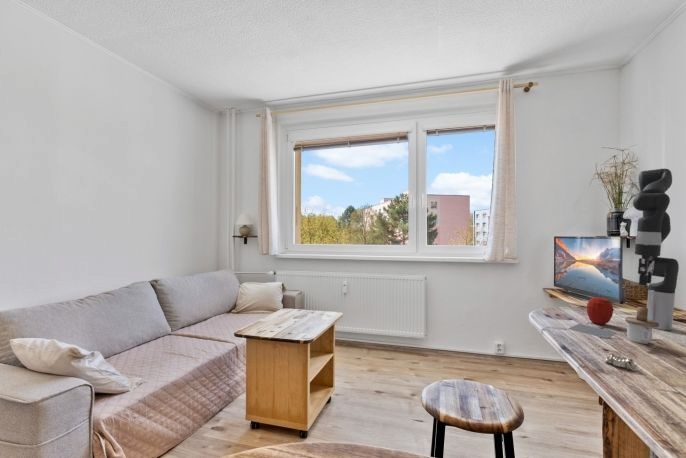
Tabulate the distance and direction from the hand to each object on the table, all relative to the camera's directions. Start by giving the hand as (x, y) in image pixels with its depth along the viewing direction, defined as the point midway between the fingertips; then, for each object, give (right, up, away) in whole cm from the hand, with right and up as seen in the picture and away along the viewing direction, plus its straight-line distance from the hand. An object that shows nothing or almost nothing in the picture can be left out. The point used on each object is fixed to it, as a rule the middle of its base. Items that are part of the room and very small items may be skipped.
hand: (645, 284), depth 133 cm
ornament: (-30, -23, -24) cm, 45 cm away
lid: (-1, -16, +1) cm, 16 cm away
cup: (-1, -24, +1) cm, 24 cm away
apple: (+1, -24, +26) cm, 35 cm away
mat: (-11, -23, +13) cm, 29 cm away
